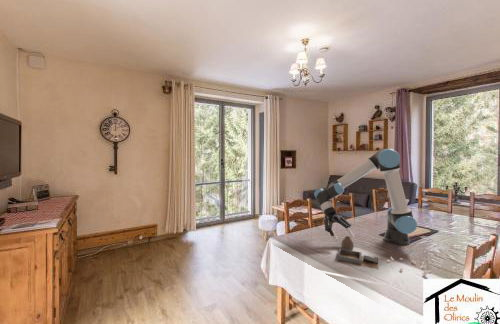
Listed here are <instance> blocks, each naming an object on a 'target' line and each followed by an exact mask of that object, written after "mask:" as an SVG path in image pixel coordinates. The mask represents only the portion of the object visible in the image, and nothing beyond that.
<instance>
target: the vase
mask: <svg viewBox="0 0 500 324" xmlns="http://www.w3.org/2000/svg"><path fill="white" fill-rule="evenodd" d="M340 244H341V249H345V250H351V251H354V250H353V249H354V241H353V240H352V239H351V237H350V236H348V235H347V236H345V237H344V238H343V239H342V241H341V243H340Z"/></svg>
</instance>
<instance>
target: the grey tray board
mask: <svg viewBox="0 0 500 324" xmlns="http://www.w3.org/2000/svg"><path fill="white" fill-rule="evenodd" d="M341 254H346V255H352V256H357V257H360V258H359V259H355V258H350V257H344V256H340V255H341ZM362 256H364V257H363V261H365V262H371V263H376V264H378V265H379V257H375V256H369V255H362V251H355V250H352V251H351V250H345V249H342V248H339V249H338V252H337V256H336V257H337V261H336V262H338V261H342V262H341V263H343V262H348V263H347V264H349V263H353V264H352V265H354V264H358V265H357V266H359V265H361V261H362Z"/></svg>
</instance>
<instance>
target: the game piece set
mask: <svg viewBox="0 0 500 324" xmlns="http://www.w3.org/2000/svg"><path fill="white" fill-rule="evenodd" d="M403 259H404V258H403V257H399V260H401V261H402V260H403ZM409 259H410V260H409V261H410V263H411V264H413V265H414V264H417V263H416V260H413V259H412V258H411V257H409ZM391 260H392V261H395V259H394V258H393V257H392V256H390V259H387V260H386V262H387V263H390V261H391ZM421 263H422V265H420V268H421V269H425V270H423V272H422V276H423V277H426V276H427V275H428V274H430V273H431V272H432V271H431V270H428V268H427V266H426V265H424V264H425V262H424V261H422V262H421ZM390 267H391V268H392V267H393V265H390ZM403 269H404V268H402V267H400V268H399V272H403Z"/></svg>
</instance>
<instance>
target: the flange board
mask: <svg viewBox="0 0 500 324" xmlns="http://www.w3.org/2000/svg"><path fill="white" fill-rule="evenodd" d="M340 256H344V257H350V258H355V259H359V258H360V257H357V256H352V255H346V254H341V255H340ZM364 256H365V255H362V261H361V265H358V264H353V263H348V262H342V261H337V262H338V263H343V264H349V265H355V266H361V267H364V268H365V267H366V268H370V269H374V270H375V269H376V270H379V263H378V264H376V263H371V262H365V261H363V257H364Z"/></svg>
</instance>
